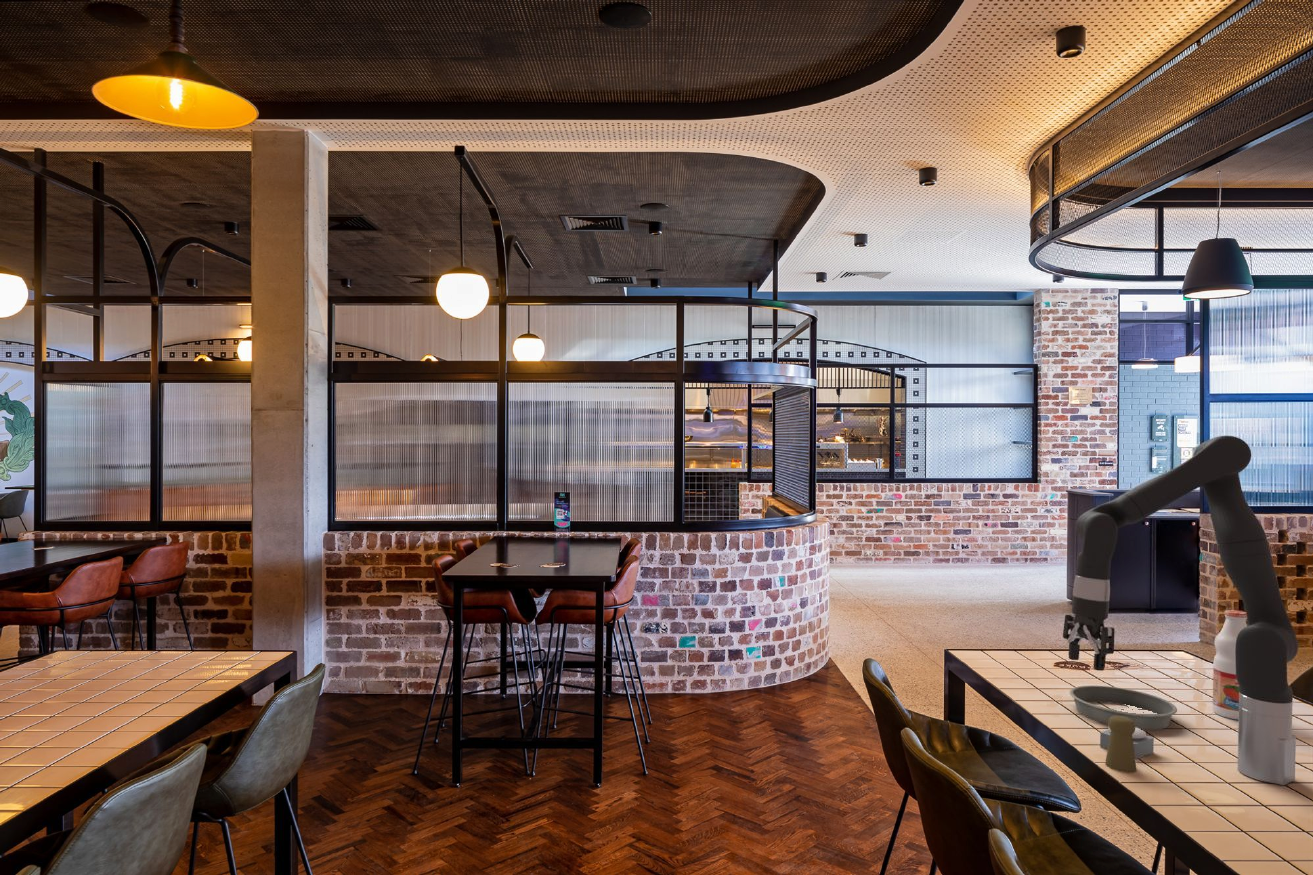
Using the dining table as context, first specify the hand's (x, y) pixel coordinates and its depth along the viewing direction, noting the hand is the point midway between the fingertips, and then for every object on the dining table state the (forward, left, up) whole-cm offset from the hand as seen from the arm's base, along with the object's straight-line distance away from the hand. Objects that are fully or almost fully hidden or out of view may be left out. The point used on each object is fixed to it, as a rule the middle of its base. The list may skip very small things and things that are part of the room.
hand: (1085, 664), depth 181 cm
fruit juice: (-7, -61, -20) cm, 64 cm away
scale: (-6, -8, -20) cm, 22 cm away
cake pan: (+8, -33, -20) cm, 39 cm away
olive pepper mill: (-10, +3, -20) cm, 23 cm away
